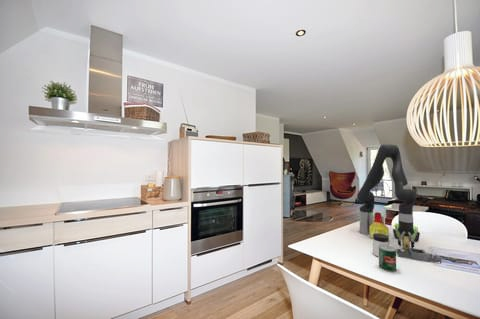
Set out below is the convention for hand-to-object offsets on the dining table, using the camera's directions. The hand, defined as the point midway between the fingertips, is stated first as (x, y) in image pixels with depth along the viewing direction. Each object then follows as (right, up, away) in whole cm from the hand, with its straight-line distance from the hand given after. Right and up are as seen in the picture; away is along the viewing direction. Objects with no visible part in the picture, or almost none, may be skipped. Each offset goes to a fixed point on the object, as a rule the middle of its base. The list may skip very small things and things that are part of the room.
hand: (406, 246), depth 137 cm
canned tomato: (-26, -3, -20) cm, 33 cm away
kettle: (+17, -3, +22) cm, 28 cm away
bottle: (-4, -3, +20) cm, 21 cm away
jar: (-19, -3, -5) cm, 20 cm away
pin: (0, -3, 0) cm, 3 cm away
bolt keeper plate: (0, -3, -9) cm, 9 cm away
